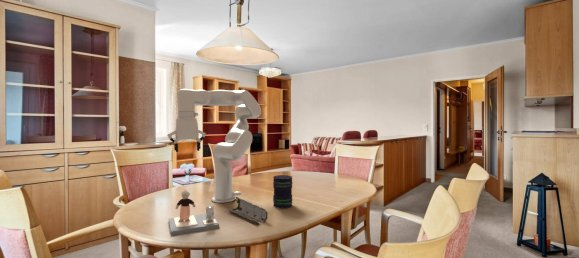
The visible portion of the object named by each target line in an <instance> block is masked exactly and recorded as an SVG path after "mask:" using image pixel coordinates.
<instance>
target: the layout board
mask: <svg viewBox="0 0 579 258" xmlns="http://www.w3.org/2000/svg"><path fill="white" fill-rule="evenodd" d="M189 219H190V221H188V222H185V220H184V221H183V222H178V221H179V220H180V216H179V217H178V216H177V217H170V218H168V224H169V225H168V226H169V232H170V236H176V235H177V234H178V235H183V234H189V233H197V232H202V231H208V230H214V229H219V228H220V223H219V221H218V220H217V218H216V217H215V216H214V222H211V223H207V222H206V213H202V214H194V215H190V218H189ZM196 231H197V232H196ZM178 235H177V236H178Z"/></svg>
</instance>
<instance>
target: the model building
mask: <svg viewBox="0 0 579 258" xmlns="http://www.w3.org/2000/svg"><path fill="white" fill-rule="evenodd" d="M235 200H237V201H236V203H237V207H235V208H233V209H232V208H230V207H228V208H227V209H228V210H229V211H230V212H231V213H234V214H236V215H238V216H240V217H242V218H244V219H247V220H249V221H250V222H253V223H255V224H257V225H259V226H260V225H261V223H259V222H262V223H264V224H265V222H266V221H267V220H268V214H269V213H268V211H267V210H266V209H265V208H263V207H261V206H259V205H256V204H253V203H252V202H250V201H247V200H245V199H242V198H239V197H238V196H235ZM251 218H252V219H251ZM256 220H257V221H256ZM258 221H259V222H258Z"/></svg>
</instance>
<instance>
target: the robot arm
mask: <svg viewBox="0 0 579 258" xmlns="http://www.w3.org/2000/svg"><path fill="white" fill-rule="evenodd" d="M197 106H198V107H199V106H210V107H211V106H213V107H222V106H223V107H224V106H225V107H227V106H236V107H235V110H234V111H235V113H234V114H235V123H234V124H233V126H232V127H231V128H230V130H229V131H228V132H227V134H226V136H225V138H224V141H225V142H218V143H216V144H214V146H213V148H212V158H213V162H214V163H213V164H214V196H213V197H212V198H211V201H212V202H213V203H217V204H221V203H223V204H224V203H225V204H226V203H229V202H231V203H232V202H234V201H235V200H236V197H237V196H241V195H242V192H241V191H234V190H233V164H232V162H237V161H239V160H241V159H242V158H243V157H244V155H245V154H246V152H247V150H249V148H250V146H251V144H252V143H253V134H252V132H251V131H250V130H249V128H250V126H249V123H248V119H256V118H257V119H258V118H259V117H260V116H261V115H262V108H261V106H260V103H258V101H257V100H256V98H255V97H254V96H253V95H252V94H251V92H249V90H246V89H241V90H240V89H239V90H225V89H216V90H205V89H196V90H195V89H189V88H182V89H179V90H178V91H177V118H176V119H175V130H174V131H172V132H169V133H168V134H167V137H168V140H170V142H172V144H173V147H174V148H173V151H175V153H179V143H178V142H179V141H180V140H181V141H182V140H195V141H196V151H200V150H201V143H202V141H203V140H204V139H205V137H206V135H207V133H206V132H204V131H202V130H199V123H198V119H197V118H196V116H197V117H198V116H199V113H198V112H196V107H197ZM173 135H175V139H174V138H173ZM200 135H201V137H200V138H199V136H200Z"/></svg>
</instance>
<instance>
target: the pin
mask: <svg viewBox="0 0 579 258" xmlns="http://www.w3.org/2000/svg"><path fill="white" fill-rule="evenodd" d="M214 208H215V207H214V206H213V205H208V206H205V214H206V222H207V223H211V222H214V217H215V216H214V214H215V213H214V212H215V211H214V210H215V209H214Z"/></svg>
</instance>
